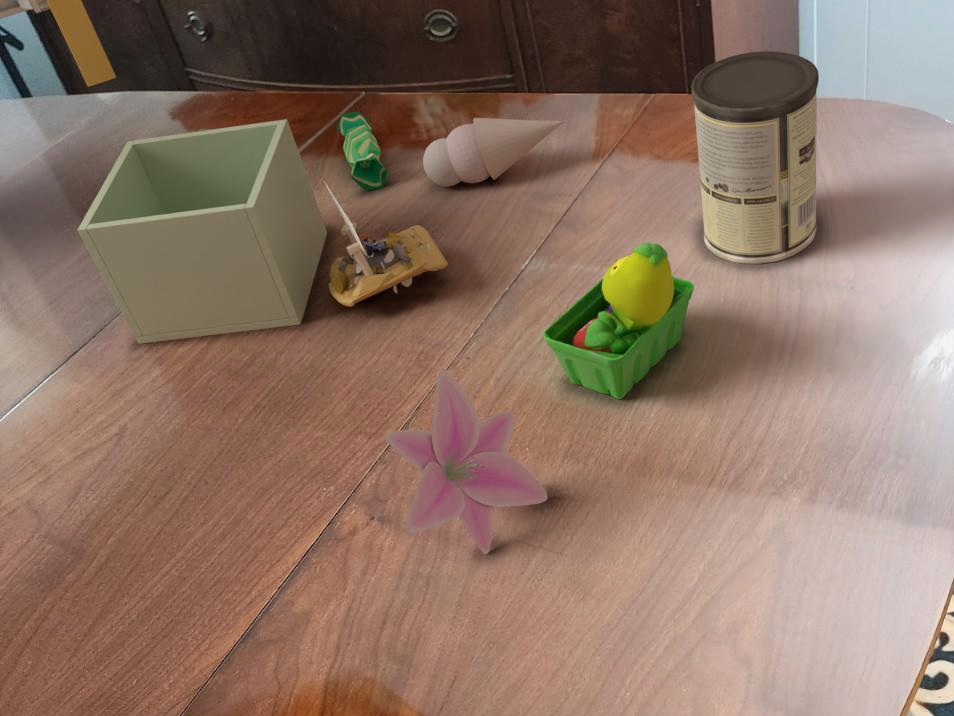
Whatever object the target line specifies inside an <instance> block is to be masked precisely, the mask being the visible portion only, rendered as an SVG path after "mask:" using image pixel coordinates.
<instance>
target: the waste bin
mask: <svg viewBox="0 0 954 716" xmlns="http://www.w3.org/2000/svg"><path fill="white" fill-rule="evenodd" d="M96 194H97V195H96V196H95V198H94V200H93V201H92V203H91V205H90V206H89V208H88V211H87V212H86V213H85V215H84V217H83V219H82V221H81V223H80V225H79V226H78V228H77V232H78V234H79V236H80V238H81V239H82V242H83V243H84V245H85V248H86V249H87V251H88V253H89V255H90V257H91V258H92V260H93V262H94V265H95V266H96V267H97V269H98V271H99V273H100V276H101V277H102V279H103V280H104V283H105V284H106V286H107V288H108V290H109V291H110V294H111V295H112V297H113V299H114V301H115V304H116V305H117V306H118V309H119V310H120V312H121V314H122V316H123V318H124V320H125V322H126V323H127V325H128V327H129V329H130V331H131V333H132V334H133V336H134V337H135V340H136V342H137V343H138V344H139V345H141V344H148V343H158V342H166V341H175V340H182V339H192V338H201V337H208V336H216V335H217V336H218V335H224V334H233V333H242V332H251V331H257V330H267V329H274V328H282V327H291V326H300V325H301V324H302V321H303V317H304V315H305V311H306V308H307V304H308V301H309V297H310V293H311V290H312V286H313V283H314V281H315V280H314V279H315V276H316V273H317V269H318V266H319V263H320V259H321V256H322V253H323V249H324V245H325V242H326V238H327V235H328V231H327V228H326V225H325V221H324V220H323V217H322V214H321V211H320V209H319V205H318V202H317V199H316V197H315V194H314V192H313V188H312V186H311V183H310V180H309V178H308V174H307V171H306V169H305V166H304V163H303V160H302V157H301V155H300V151H299V149H298V146H297V143H296V140H295V138H294V135H293V132H292V129H291V127H290V123H289V120H288V119H287V118H285V119H279V120H278V119H277V120H273V121H272V120H271V121H265V122H257V123H250V124H242V125H234V126H228V127H227V126H226V127H220V128H214V129H206V130H199V131H191V132H183V133H178V134H171V135H162V136H155V137H148V138H141V139H136V140H134V139H133V140H128V141H127V142H126V143H125V145H124V147H123V149H122V150H121V152H120V153H119V156H118V157H117V158H116V161H115V162H114V164H113V166H112V168H111V170H110V172H109V173H108V175H107V177H106V179H105V180H104V182H103V184H102V186H101V187H100V189H99V191H98V193H96Z"/></svg>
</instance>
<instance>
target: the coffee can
mask: <svg viewBox="0 0 954 716" xmlns="http://www.w3.org/2000/svg"><path fill="white" fill-rule="evenodd" d="M819 75H820V74H819V70H818V68H817V67H816V65H815V64H814V63H813V62H812V61H811V60H809V59H807V58H805V57H803V56H800V55H797V54H793V53H789V52H783V51H774V50H771V51H770V50H769V51H768V50H765V51H751V52H745V53H740V54H736V55H732V56H728V57H726V58H723V59H720V60H717V61H715V62H713V63H710V64H709V65H707V66H706V67H705V68H703V69H701V70H700V71H699V72H698V74H696V75H695V77H694V78H693V80H692V83H691V97H692V100H693V105H694V117H695V118H694V121H695V132H696V142H697V143H696V145H697V156H698V157H697V158H698V168H699V182H700V193H701V195H700V196H701V206H702V207H701V208H702V219H703V220H702V221H703V240H704V244H705V246H706V248H707V249H708V250H709V251H710V252H711V253H712V254H714V256H716V257H718V258H720V259H724V260H726V261H728V262H731V263H737V264H747V265H761V264H767V263H775V262H779V261H782V260H785V259H789V258H791V257H794V256H795V255H797V254H800V253H801V252H802V251H803V250H805V249H806V248H807V247H808V246H810V244H811V243H812V242H813V240H814V239H815V236H816V234H817V231H818V227H817V225H818V224H817V133H818V132H817V125H818V124H817V119H818V118H817V109H818V107H817V106H818V105H817V103H818V101H817V100H818V99H817V98H818V97H817V95H818V94H817V91H818V90H817V89H818V86H819V78H820V77H819Z"/></svg>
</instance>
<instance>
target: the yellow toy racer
mask: <svg viewBox="0 0 954 716" xmlns="http://www.w3.org/2000/svg"><path fill="white" fill-rule="evenodd" d="M324 184H325V187H326V189H327V191H328V193H329V195H330V198H331V199H332V201H333V203H334V206H335V208H336V211H337V213H338V214H339V217H341V219H342V221H343V222H344V224H343V225H342V227H341V229H340V233H341V235H343V236H344V235H347V236H348V239H349V240H350V243H351V244H349V245H347V246H346V251H347V252H345V253H344V255H343V256H341V257H340V256H337V257H336V259H335V260H334V261H333V263H332V264H331V265H330V271H329V277H330V282H328V290H329V292H330V295H331V296H332V297H333V298H334V299H335V300H336V301H337V302H338V303H339V304H341V305H342V306H345V307H351V308H352V307H354V306H355V304H357V303H359V302H361V301H364V300H366V299H368V298H370V297H372V296H374V295H376V294H379V293H381V292H383V291H386V290H388V289H390V288H391V287H392V291H393V292H394V293H395V294H398V287H397V285H399V284H400V283H401V285H402V286H404V287H406V288H409V286H411V285H412V282H413V278H414V277H416V276H418V275H419V277H421V274H423V273H426V272H437V271H439V270H443V269H444V268H445V269H446V268H447V266H448V264H449V263H448V261H447V260H446V258H445V256H444V254H443V253H442V252H441V250H440V249H439V247H438V245H437V243H436V242H435V241H434V239H433V237H432V236H431V234H430V232H429V231H428V230H427V229H426V228H425V227H424V226H422V225H419V224H416V225H413V226H411V227H409V228H406V229H404V230H401V231H399V232H397V233H394V232H389V234H388V236H387V237H385V238H382V239H371V238H369V236H368V235H367V234H366V233H363V234H361V235H362V238H363V245H362V242H361V240H360V237H359V234H358V232H357V231H358V230H359V229H358V228H359V227H360V224H357V223H356V222H355V221H354V222H352V220H351V219H350V217H349V215H348V214H347V211H346V210H344V208H343V205H342V204H341V203H340V201H339V199H338V198H337V196H336V194H335V192H334V190H333V188H331V187H330V188H329V186H328V185H327V183H326V182H324ZM465 358H466V360H470V357H469V356H466V357H465Z"/></svg>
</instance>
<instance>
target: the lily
mask: <svg viewBox="0 0 954 716" xmlns="http://www.w3.org/2000/svg"><path fill="white" fill-rule="evenodd" d="M434 392H435V394H434V402H433V403H434V404H433V412H432V413H433V414H432V419H431V420H432V422H431V431H430V430H425V429H404V430H393V431H389V432H386V433H385V434H383V437H384V440H385V441H386V442H387V443H388V444H389V446H390V447H392V449H394V450H395V451H396V452H397V454H399V455H400V456H401V457H402V458H403V459H404V460H406V462H407V463H409V464H410V465H411V466H412V467H413V468H415V469H416V470H417V471H419V472H420V473H421V475H420V477H419V480H418V484H417V486H416V491H415V493H414V496H413V498H412V502H411V504H410V508H409V511H408V513H407V517H406V522H405V529H406V533H409V534H412V535H413V534H418V533H423V532H426V531H429V530H432V529H434V528H437V527H440V526H442V525H444V524H447V523H449V522H452V521H453V520H455V519H457V518H459V520H460V521H461V523H462V525H463V526H464V528H465V529H466V531H467V533H468V535H469V536H470V537H471V539H472V540H473V542H474V543H475V545H476V546H477V548H479V550H480V551H481V552H482V554H484V555H488V553H489V552H490V550H491V545H492V540H493V535H494V534H493V533H494V523H495V522H494V521H495V515H494V514H495V510H494V507H496V508H497V507H502V508H508V507H522V506H530V505H531V506H532V505H538V504H541V503H544V502H546V501H547V500H548V499H549V498H548V494H547V491H546V490H545V488H544V487H543V485H542V484H541V482H539V480H537V478H536V477H535V476H534V475H533V474H532V473H531V472H530V471H529V470H528V469H527V468H526V467H525V466H524V465H522V463H520V462H519V461H518V460H517V459H515V458H514V457H512V456H511V455H509V454H507V453H506V452H507V448H508V446H509V444H510V440H511V438H512V434H513V431H514V426H515V422H516V415H515V414H516V413H515V412H514V411H512V410H509V411H503V412H500V413H495V414H493V415H490V416H488V417H484V418H483V419H481V420H480V419H479V416H478V413H477V410H476V408H475V406H474V404H473V402H472V401H471V399H470V397H469V396H468V395H467V393H466V392H465V390H464V388H463V387H462V386H461V384H460V382H458V380H457V379H456V378H455V377H454V375H452V373H450V372H449V370H448V369H446V368H443V367H441V369H439V370H438V374H437V378H436V384H435V391H434Z"/></svg>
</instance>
